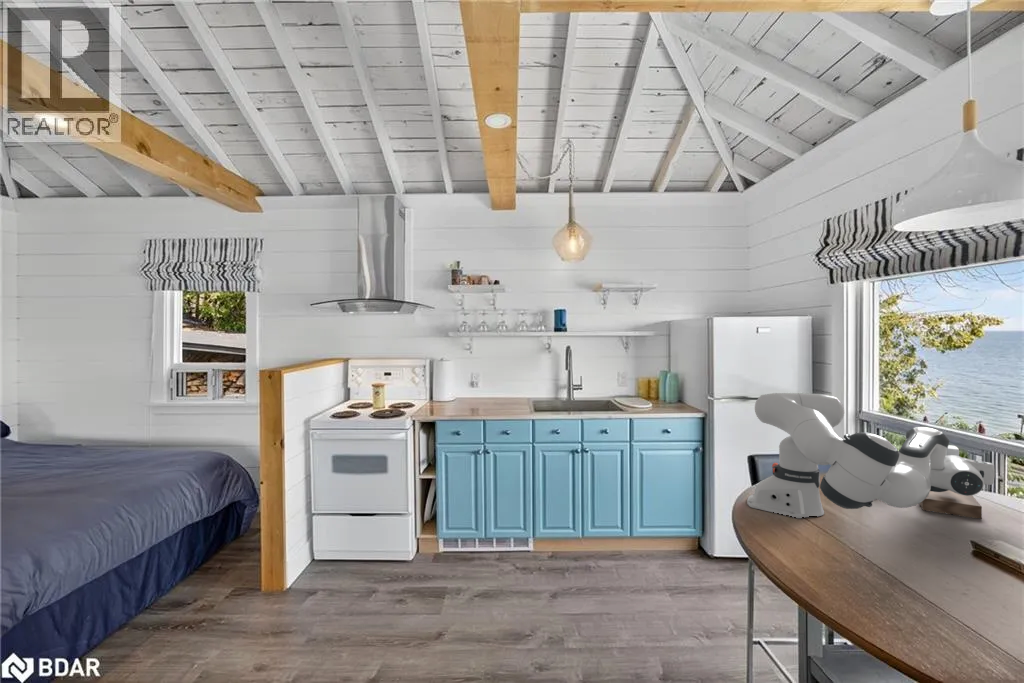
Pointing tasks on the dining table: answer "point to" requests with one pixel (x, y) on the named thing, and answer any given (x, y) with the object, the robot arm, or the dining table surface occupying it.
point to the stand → (952, 504)
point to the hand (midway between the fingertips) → (946, 460)
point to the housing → (952, 450)
